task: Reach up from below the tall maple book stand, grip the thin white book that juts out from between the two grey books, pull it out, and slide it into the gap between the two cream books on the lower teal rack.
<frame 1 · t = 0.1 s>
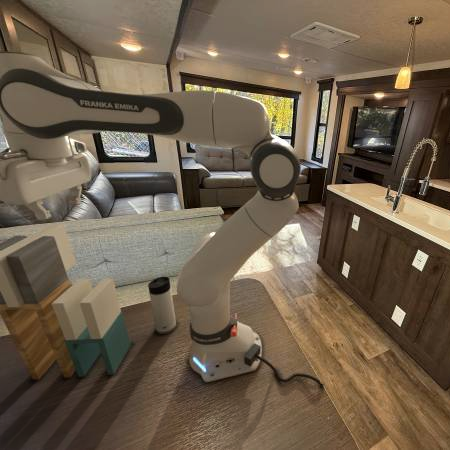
hand: (61, 210, 55), 48 cm above the table, tool pointing down, fingers open, 8 cm apart
book stand: (64, 362, 72), on the table
travel mug: (166, 327, 87), on the table
white book: (46, 282, 65), point 26 cm above the table, touching book stand
lower rack: (106, 359, 74), on the table
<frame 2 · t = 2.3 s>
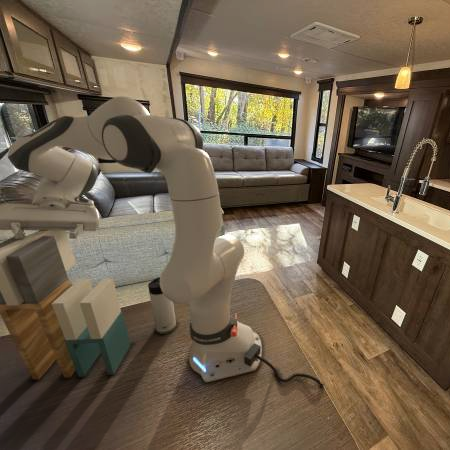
hand: (47, 236, 62), 39 cm above the table, tool horizontal, fingers open, 8 cm apart
white book: (46, 281, 65), point 26 cm above the table, touching book stand, gripper
everything else where it was.
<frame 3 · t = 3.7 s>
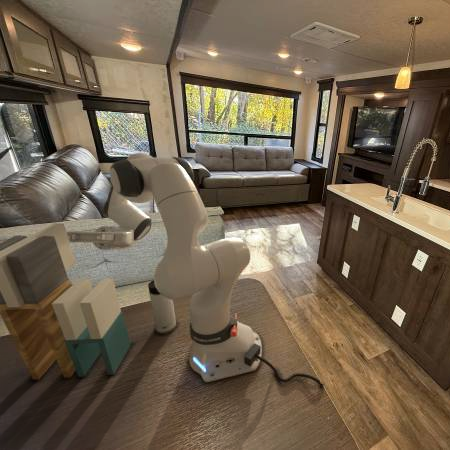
hand: (82, 236, 79), 31 cm above the table, tool pointing upward, fingers open, 8 cm apart
white book: (46, 282, 65), point 26 cm above the table, touching book stand
everything else where it was.
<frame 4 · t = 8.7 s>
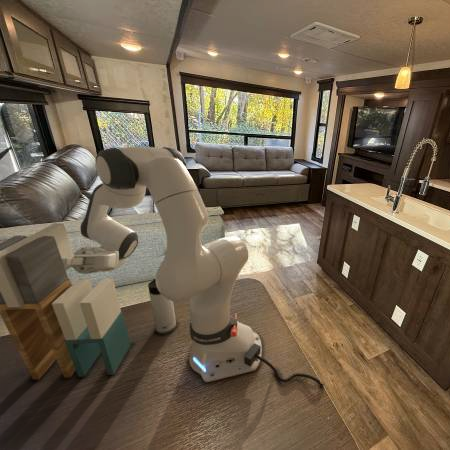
hand: (56, 261, 68), 29 cm above the table, tool pointing upward, fingers closed on white book, 2 cm apart
white book: (46, 282, 65), point 26 cm above the table, touching book stand, gripper
everything else where it was.
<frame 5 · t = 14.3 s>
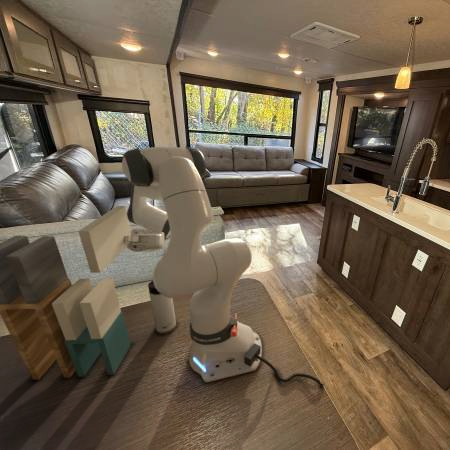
hand: (119, 238, 80), 31 cm above the table, tool pointing upward, fingers closed on white book, 2 cm apart
white book: (114, 255, 77), point 27 cm above the table, touching gripper
everything else where it was.
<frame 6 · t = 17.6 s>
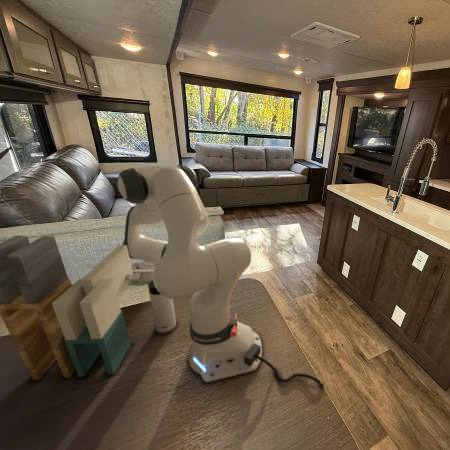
hand: (121, 277, 81), 19 cm above the table, tool pointing upward, fingers closed on white book, 2 cm apart
white book: (115, 295, 78), point 15 cm above the table, touching gripper
everything else where it was.
when the fingers open (17 cm above the table, at t = 20.2 s): white book stays where it is, resting on lower rack.
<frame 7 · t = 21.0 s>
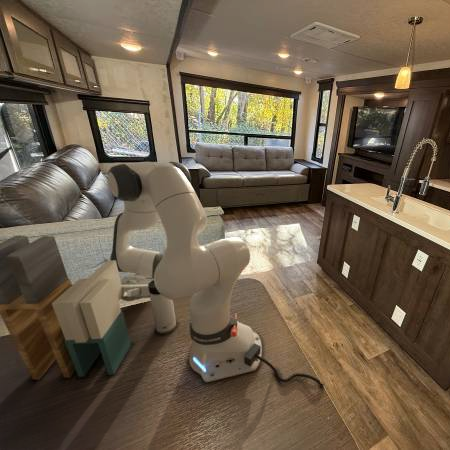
hand: (109, 294, 75), 18 cm above the table, tool pointing upward, fingers open, 8 cm apart
white book: (102, 315, 72), point 14 cm above the table, touching lower rack
everything else where it was.
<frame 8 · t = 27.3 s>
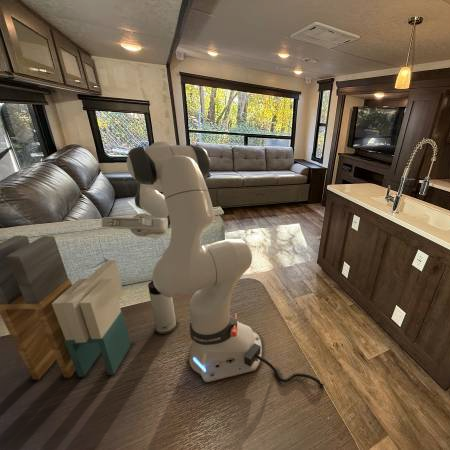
hand: (124, 220, 82), 35 cm above the table, tool pointing upward, fingers open, 8 cm apart
nothing on the table moved.
at the end: white book 0.1 cm from the target spot on the lower rack, point 14.0 cm above the lower rack's base; white book tilted 0°; the gripper is holding nothing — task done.
